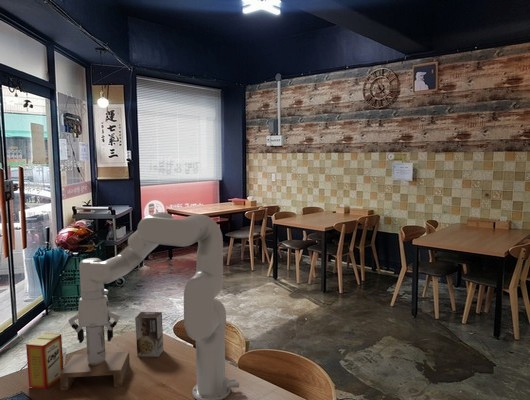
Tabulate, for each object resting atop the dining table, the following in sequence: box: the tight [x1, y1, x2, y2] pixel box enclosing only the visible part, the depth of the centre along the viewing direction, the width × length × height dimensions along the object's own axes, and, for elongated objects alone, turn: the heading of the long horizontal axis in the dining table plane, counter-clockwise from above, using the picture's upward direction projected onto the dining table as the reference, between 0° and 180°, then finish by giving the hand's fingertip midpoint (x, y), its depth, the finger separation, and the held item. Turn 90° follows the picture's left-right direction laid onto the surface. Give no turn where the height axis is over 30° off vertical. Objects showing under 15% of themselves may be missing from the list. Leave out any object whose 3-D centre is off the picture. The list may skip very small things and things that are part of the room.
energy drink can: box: [85, 324, 106, 365], centre depth 153 cm, size 6×6×15 cm
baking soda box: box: [25, 332, 64, 390], centre depth 152 cm, size 10×6×16 cm
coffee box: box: [134, 311, 164, 358], centre depth 173 cm, size 9×6×16 cm
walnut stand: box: [59, 351, 131, 391], centre depth 154 cm, size 20×14×6 cm
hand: (95, 340), depth 153 cm, fingers open, 9 cm apart
